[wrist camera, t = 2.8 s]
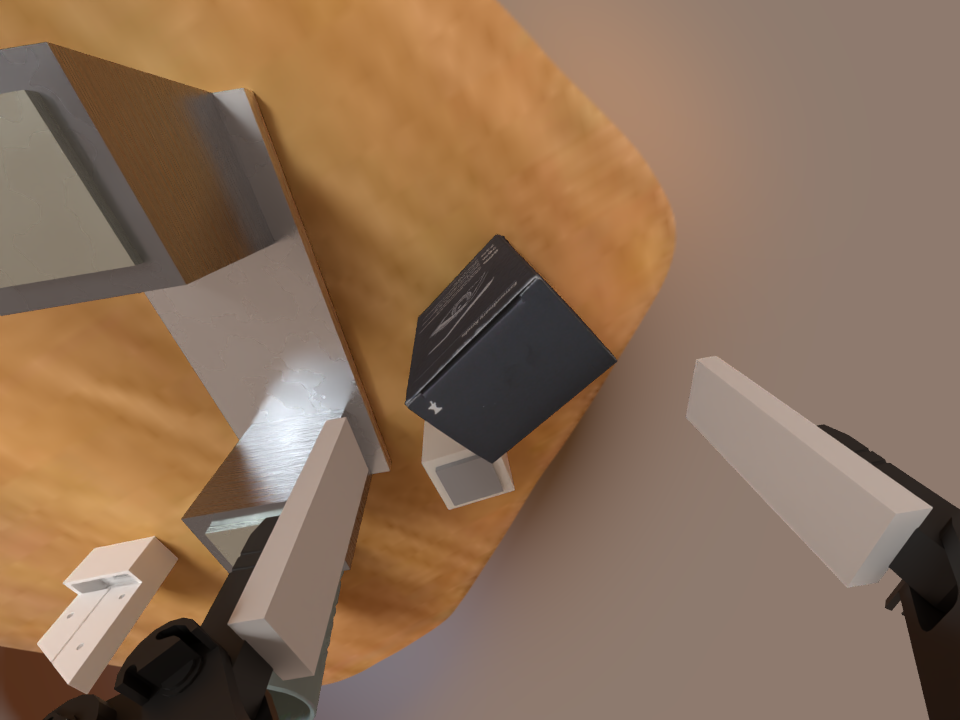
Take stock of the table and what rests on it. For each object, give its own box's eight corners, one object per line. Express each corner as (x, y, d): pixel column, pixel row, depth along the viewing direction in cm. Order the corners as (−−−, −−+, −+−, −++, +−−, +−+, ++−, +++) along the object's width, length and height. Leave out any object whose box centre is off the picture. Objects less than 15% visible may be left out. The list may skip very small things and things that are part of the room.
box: (473, 363, 26) (490, 472, 17) (415, 315, 24) (397, 411, 15) (554, 287, 24) (625, 366, 15) (498, 227, 22) (539, 275, 12)
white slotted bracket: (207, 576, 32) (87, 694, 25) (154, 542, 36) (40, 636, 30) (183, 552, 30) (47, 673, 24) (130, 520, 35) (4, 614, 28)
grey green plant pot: (360, 577, 38) (329, 732, 28) (263, 586, 37) (194, 750, 27) (340, 515, 33) (293, 677, 23) (229, 525, 32) (127, 696, 22)
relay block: (425, 407, 28) (421, 467, 22) (484, 388, 28) (495, 444, 22) (447, 450, 30) (448, 514, 25) (502, 433, 30) (516, 494, 25)
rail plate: (54, 124, 18) (-287, 88, 9) (253, 91, 18) (87, 28, 9) (277, 481, 30) (215, 599, 22) (391, 462, 30) (372, 571, 22)
